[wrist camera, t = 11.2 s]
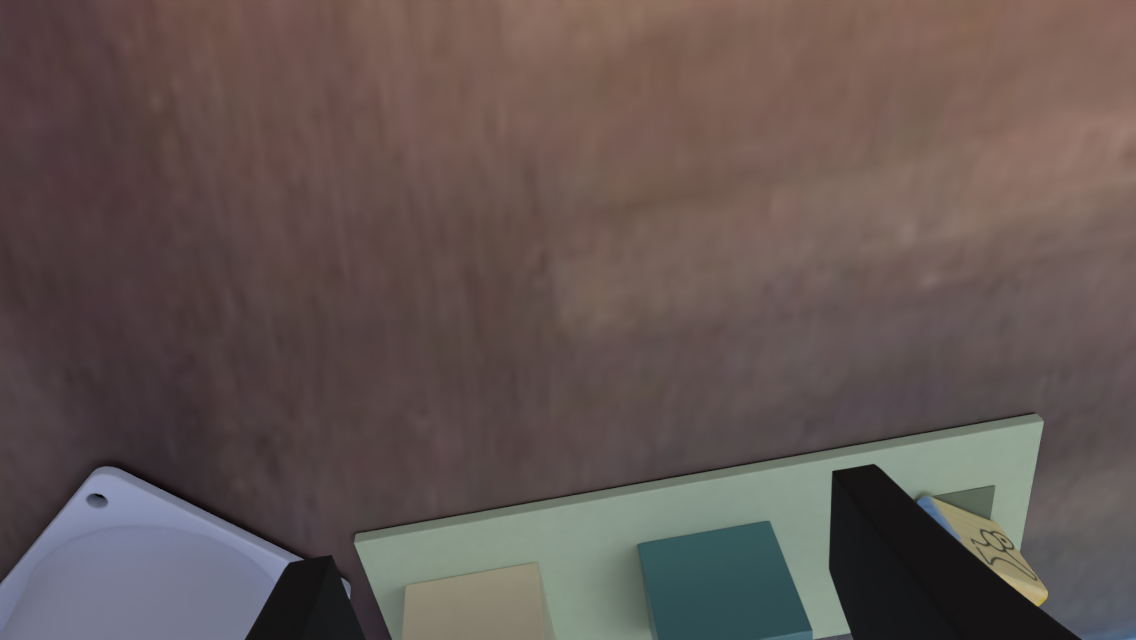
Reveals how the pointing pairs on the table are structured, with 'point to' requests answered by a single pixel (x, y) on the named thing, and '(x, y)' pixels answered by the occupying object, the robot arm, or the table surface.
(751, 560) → the teal cube
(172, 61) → the table surface
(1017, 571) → the alphabet block
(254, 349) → the table surface
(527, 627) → the beige cube block
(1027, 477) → the word mat
